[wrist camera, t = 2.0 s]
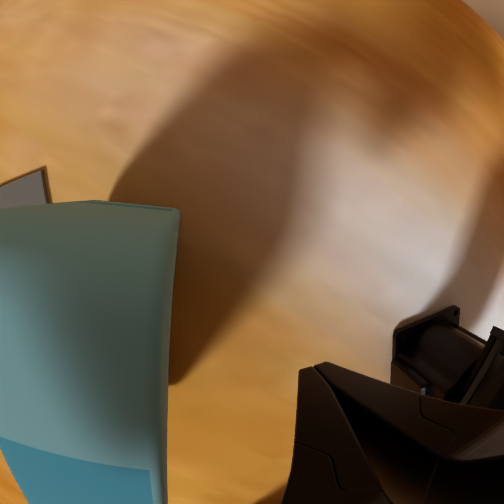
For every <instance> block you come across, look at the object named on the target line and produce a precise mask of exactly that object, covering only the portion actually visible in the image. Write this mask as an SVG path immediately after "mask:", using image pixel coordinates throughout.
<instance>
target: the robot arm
mask: <svg viewBox="0 0 504 504" xmlns="http://www.w3.org/2000/svg"><path fill="white" fill-rule="evenodd" d="M459 316H460V308H459V307H457V306H455V305H453V306H451V307H449V308H446V309H444V310H442V311H440V312H438V313H435V314H433V315H431V316H428V317H426V318H424V319H421V320H419V321H416V322H414V323H412V324H409V325H407V326H404V327H402V328H399V329H397V330H396V331H395V332H394V334H393V350H392V361H391V381H390V384H389V383H386V382H383V381H380V380H377V379H374V378H371V377H368V376H365V375H362V374H360V373H357V372H354V371H351V370H349V369H346V368H343V367H340V366H338V365H335V364H332V363H330V362H323V363H320V364H317V365H314V367H312V366H310V367H307V368H303V369H300V370H299V376H298V394H297V410H296V425H295V438H294V448H293V458H292V465H291V471H290V475H289V479H288V483H287V487H286V490H285V493H284V496H283V499H282V502H281V504H504V330H502V329H499V328H497V327H495V326H493V328H492V330H491V332H490V334H491V335H490V337H489V339H488V341H485V340H484V339H482V338H480V337H478V336H476V335H475V334H473V333H471V332H469V331H468V330H466V329H464V328H462V327H460V326H459ZM400 335H401V336H400ZM399 336H400V337H399Z"/></svg>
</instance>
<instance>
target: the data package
mask: <svg viewBox="0 0 504 504" xmlns="http://www.w3.org/2000/svg"><path fill="white" fill-rule="evenodd" d="M179 224H180V211H179V210H178V209H177V208H171V207H162V206H153V205H143V204H133V203H122V202H112V201H101V200H89V201H75V202H62V203H50V204H38V205H28V206H18V207H8V208H0V449H1V451H2V453H3V455H4V458H5V460H6V462H7V464H8V466H9V468H10V470H11V472H12V474H13V476H14V478H15V480H16V482H17V483H18V485H19V487H20V489H21V491H22V492H23V494H24V496H25V498H26V499H27V501H28V503H29V504H168V494H167V413H168V374H169V348H170V329H171V312H172V298H173V285H174V274H175V263H176V252H177V243H178V233H179Z"/></svg>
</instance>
